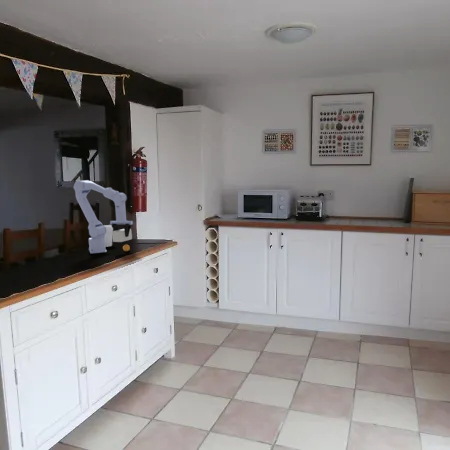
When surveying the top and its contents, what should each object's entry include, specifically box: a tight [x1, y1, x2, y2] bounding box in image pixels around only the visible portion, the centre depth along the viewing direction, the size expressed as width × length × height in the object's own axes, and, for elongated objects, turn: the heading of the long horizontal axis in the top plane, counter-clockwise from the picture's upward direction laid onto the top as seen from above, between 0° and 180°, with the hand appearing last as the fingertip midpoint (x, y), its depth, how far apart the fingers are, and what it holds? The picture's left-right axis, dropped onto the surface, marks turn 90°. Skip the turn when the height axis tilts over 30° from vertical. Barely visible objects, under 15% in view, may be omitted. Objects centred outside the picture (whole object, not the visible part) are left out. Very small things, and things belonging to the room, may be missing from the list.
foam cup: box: [103, 224, 114, 248], centre depth 271 cm, size 10×9×13 cm
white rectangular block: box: [112, 228, 133, 243], centre depth 246 cm, size 11×6×6 cm, turn 159°
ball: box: [122, 244, 131, 252], centre depth 250 cm, size 4×4×4 cm
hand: (122, 236), depth 246 cm, fingers closed on white rectangular block, 6 cm apart
